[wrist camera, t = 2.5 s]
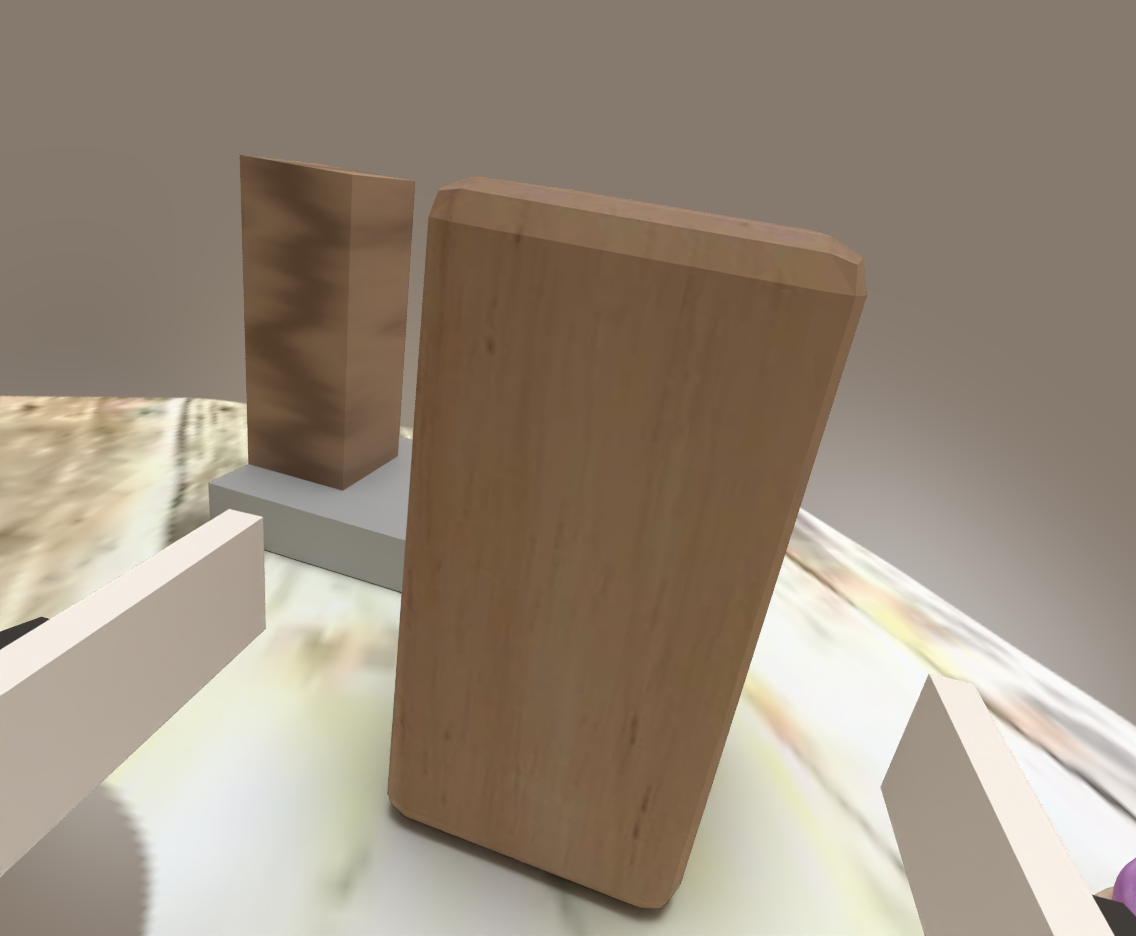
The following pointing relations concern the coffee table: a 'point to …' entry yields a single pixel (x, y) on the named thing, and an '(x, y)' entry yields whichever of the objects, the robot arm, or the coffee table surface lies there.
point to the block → (600, 513)
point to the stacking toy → (1124, 887)
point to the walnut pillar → (324, 316)
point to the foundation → (328, 517)
